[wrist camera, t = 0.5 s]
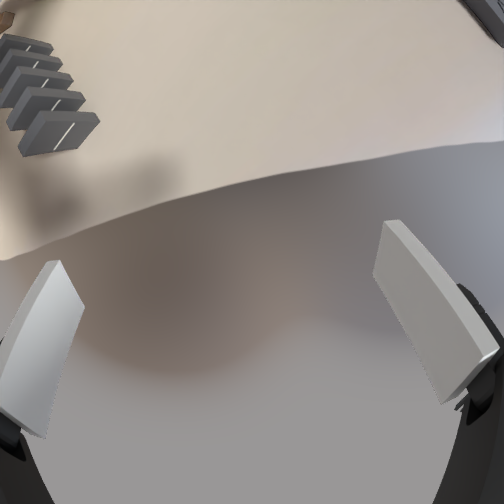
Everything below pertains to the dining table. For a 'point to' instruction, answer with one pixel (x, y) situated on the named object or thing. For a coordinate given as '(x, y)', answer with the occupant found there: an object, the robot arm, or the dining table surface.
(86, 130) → the domino
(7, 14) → the brown angular blocky piece
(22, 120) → the domino
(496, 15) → the streaming box
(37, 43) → the domino
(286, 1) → the dining table surface
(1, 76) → the domino
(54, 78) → the domino
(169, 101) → the dining table surface
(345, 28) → the dining table surface
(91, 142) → the dining table surface
